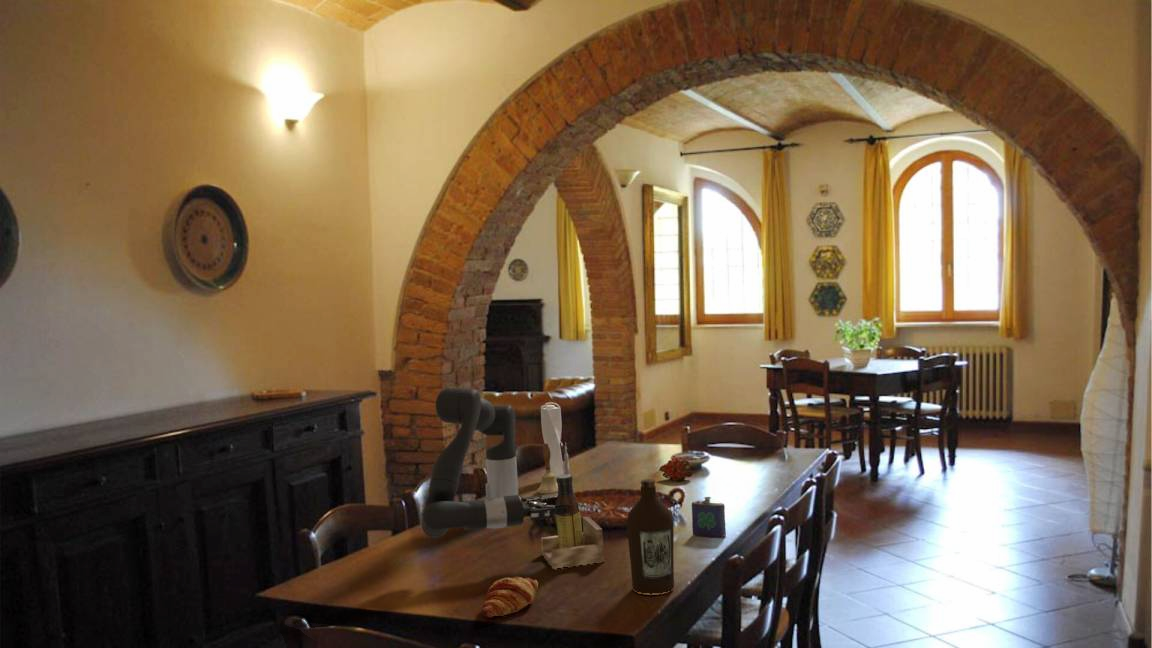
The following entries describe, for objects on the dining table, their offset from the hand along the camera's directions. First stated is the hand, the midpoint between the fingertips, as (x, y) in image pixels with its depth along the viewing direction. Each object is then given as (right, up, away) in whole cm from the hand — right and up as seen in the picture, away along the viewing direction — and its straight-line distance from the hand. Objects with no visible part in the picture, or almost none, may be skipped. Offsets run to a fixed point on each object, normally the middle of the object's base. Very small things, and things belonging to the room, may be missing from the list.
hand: (565, 504), depth 235 cm
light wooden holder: (+2, -14, +1) cm, 14 cm away
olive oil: (+20, -15, -25) cm, 35 cm away
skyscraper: (-4, -9, +91) cm, 92 cm away
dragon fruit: (+37, -8, +81) cm, 89 cm away
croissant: (-11, -17, -30) cm, 36 cm away
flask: (+38, -12, +14) cm, 43 cm away
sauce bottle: (+1, -13, +1) cm, 13 cm away
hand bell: (-6, -10, +76) cm, 77 cm away
